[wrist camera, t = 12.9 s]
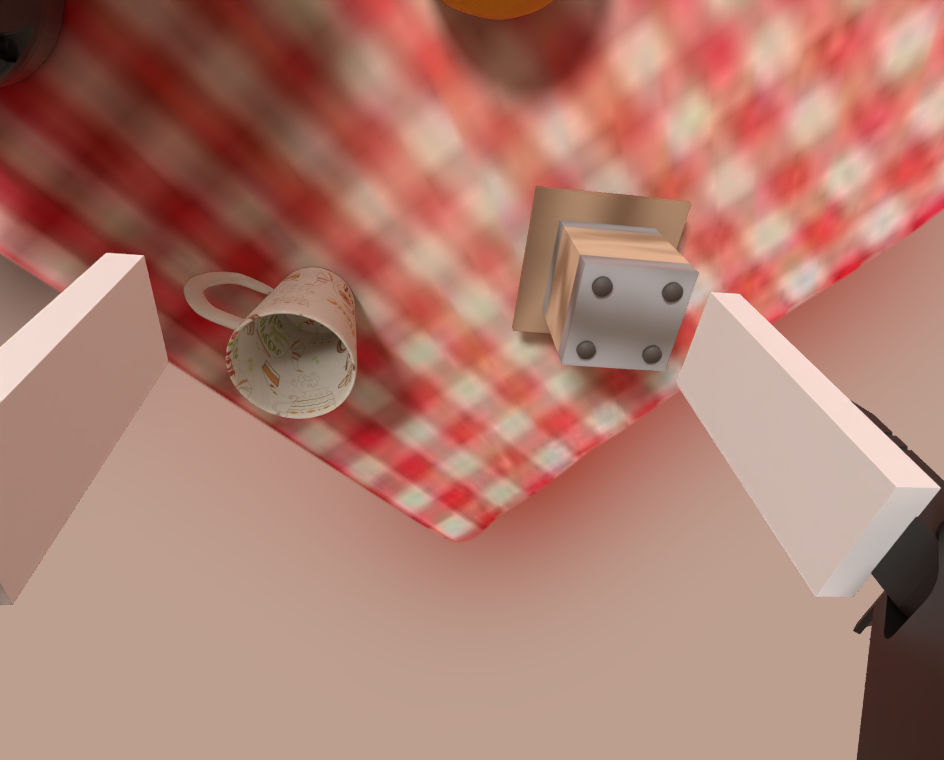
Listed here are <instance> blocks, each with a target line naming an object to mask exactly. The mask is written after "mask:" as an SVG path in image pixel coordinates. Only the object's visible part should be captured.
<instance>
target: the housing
mask: <svg viewBox="0 0 944 760" xmlns="http://www.w3.org/2000/svg"><path fill="white" fill-rule="evenodd" d="M698 274H699V272H698V271H697V270H696V269H695V268H694V267H693V266H692V265H691V264H690V263H689V262H688V261H687V260H686V259H685V258H684V257H683V256H682V255H681V254H680V253H679V252H678V251H677V250H676V249H675V248H674V247H673V246H672V245H671V244H670V243H669V242H668V241H667V240H666V239H665V238H664V237H663V236H662V235H661V234H660V233H659V232H658V231H657V230H656V229H655V228H644V227H634V226H623V225H612V224H601V223H590V222H579V221H569V220H560V221H559V226H558V231H557V236H556V241H555V246H554V251H553V256H552V261H551V266H550V272H549V277H548V282H547V287H546V292H545V297H544V302H543V307H542V311H543V314H544V316H545V319H546V322H547V325H548V327H549V330H550V333H551V336H552V339H553V341H554V344H555V347H556V350H557V353H558V355H559V358H560V361H561V364H562V365H574V366H590V367H605V368H621V369H637V370H652V371H665V369H666V366H667V363H668V360H669V357H670V354H671V351H672V349H673V346H674V343H675V340H676V337H677V334H678V331H679V329H680V326H681V323H682V320H683V317H684V314H685V311H686V309H687V306H688V303H689V300H690V297H691V294H692V291H693V288H694V286H695V283H696V280H697V277H698Z"/></svg>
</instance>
